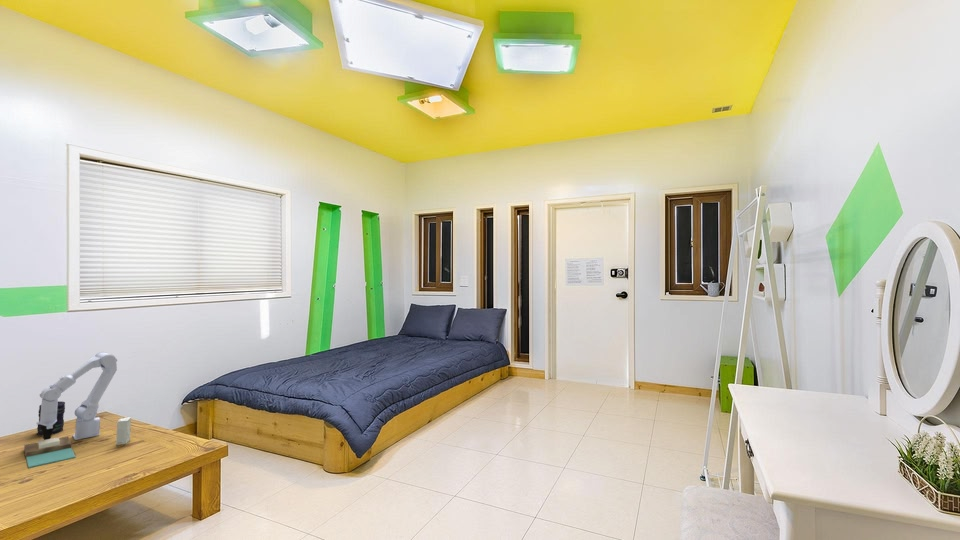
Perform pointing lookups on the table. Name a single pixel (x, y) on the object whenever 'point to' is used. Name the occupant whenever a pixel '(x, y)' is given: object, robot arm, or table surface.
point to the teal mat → (50, 457)
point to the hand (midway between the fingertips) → (46, 439)
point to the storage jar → (59, 419)
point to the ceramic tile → (48, 443)
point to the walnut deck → (34, 450)
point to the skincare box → (123, 430)
